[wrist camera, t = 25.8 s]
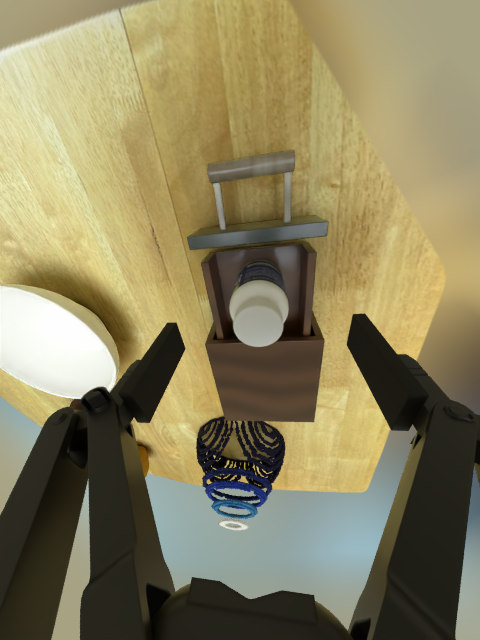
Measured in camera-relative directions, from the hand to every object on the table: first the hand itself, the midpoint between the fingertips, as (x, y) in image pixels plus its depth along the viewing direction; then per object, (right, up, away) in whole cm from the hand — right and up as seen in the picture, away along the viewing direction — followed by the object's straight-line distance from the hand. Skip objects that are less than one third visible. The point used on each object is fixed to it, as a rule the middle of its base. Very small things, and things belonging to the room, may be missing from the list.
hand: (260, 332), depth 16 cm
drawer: (+1, +8, +9) cm, 11 cm away
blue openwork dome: (-1, -28, +33) cm, 43 cm away
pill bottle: (+1, +6, +9) cm, 10 cm away
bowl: (-27, 0, +18) cm, 33 cm away
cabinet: (+2, -5, +17) cm, 18 cm away
